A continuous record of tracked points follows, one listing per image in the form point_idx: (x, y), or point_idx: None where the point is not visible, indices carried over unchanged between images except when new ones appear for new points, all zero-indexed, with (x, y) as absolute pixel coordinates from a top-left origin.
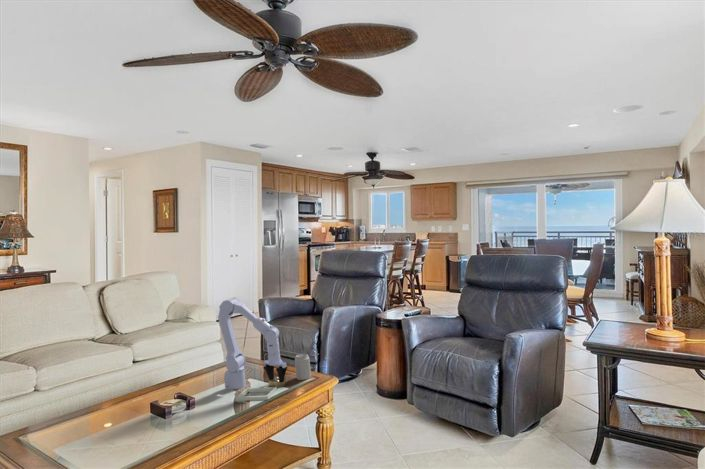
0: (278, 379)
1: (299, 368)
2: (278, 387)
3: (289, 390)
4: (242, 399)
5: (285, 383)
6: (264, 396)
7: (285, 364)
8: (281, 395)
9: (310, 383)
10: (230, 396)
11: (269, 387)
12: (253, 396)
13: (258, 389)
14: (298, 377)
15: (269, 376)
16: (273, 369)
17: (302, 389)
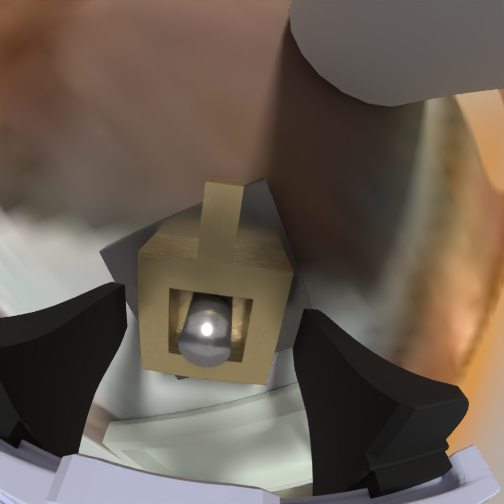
0: (203, 288)
1: (480, 89)
2: (285, 347)
3: (393, 328)
4: None
5: (288, 245)
6: None
7: (480, 488)
8: None
9: (477, 151)
10: (83, 444)
11: (254, 423)
12: None
13: (185, 441)
14: (379, 99)
15: (107, 361)
16: (59, 337)
17: (469, 280)
